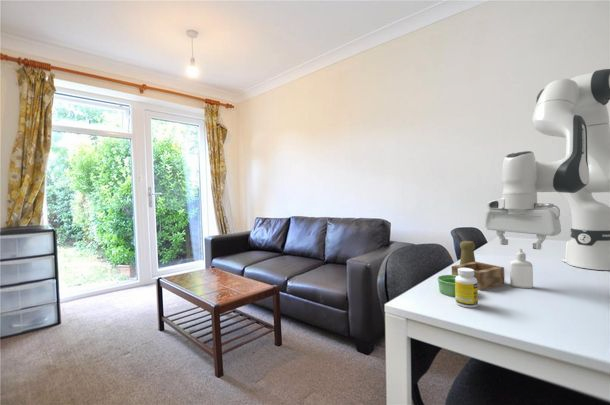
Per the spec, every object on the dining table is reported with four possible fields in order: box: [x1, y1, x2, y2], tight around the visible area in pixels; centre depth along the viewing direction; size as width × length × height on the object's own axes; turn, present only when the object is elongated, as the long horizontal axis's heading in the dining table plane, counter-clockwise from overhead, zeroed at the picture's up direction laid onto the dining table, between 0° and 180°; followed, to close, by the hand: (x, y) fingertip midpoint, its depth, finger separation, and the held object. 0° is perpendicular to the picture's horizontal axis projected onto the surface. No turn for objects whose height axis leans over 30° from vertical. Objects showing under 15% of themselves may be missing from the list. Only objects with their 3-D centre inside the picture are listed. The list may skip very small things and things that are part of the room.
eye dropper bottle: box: [509, 248, 534, 289], centre depth 91 cm, size 4×6×12 cm
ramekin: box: [436, 274, 457, 298], centre depth 88 cm, size 9×9×4 cm
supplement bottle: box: [454, 268, 479, 309], centre depth 79 cm, size 5×5×10 cm
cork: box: [459, 240, 476, 265], centre depth 113 cm, size 6×6×11 cm
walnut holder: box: [451, 261, 505, 292], centre depth 96 cm, size 12×10×6 cm
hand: (519, 246), depth 90 cm, fingers open, 8 cm apart
